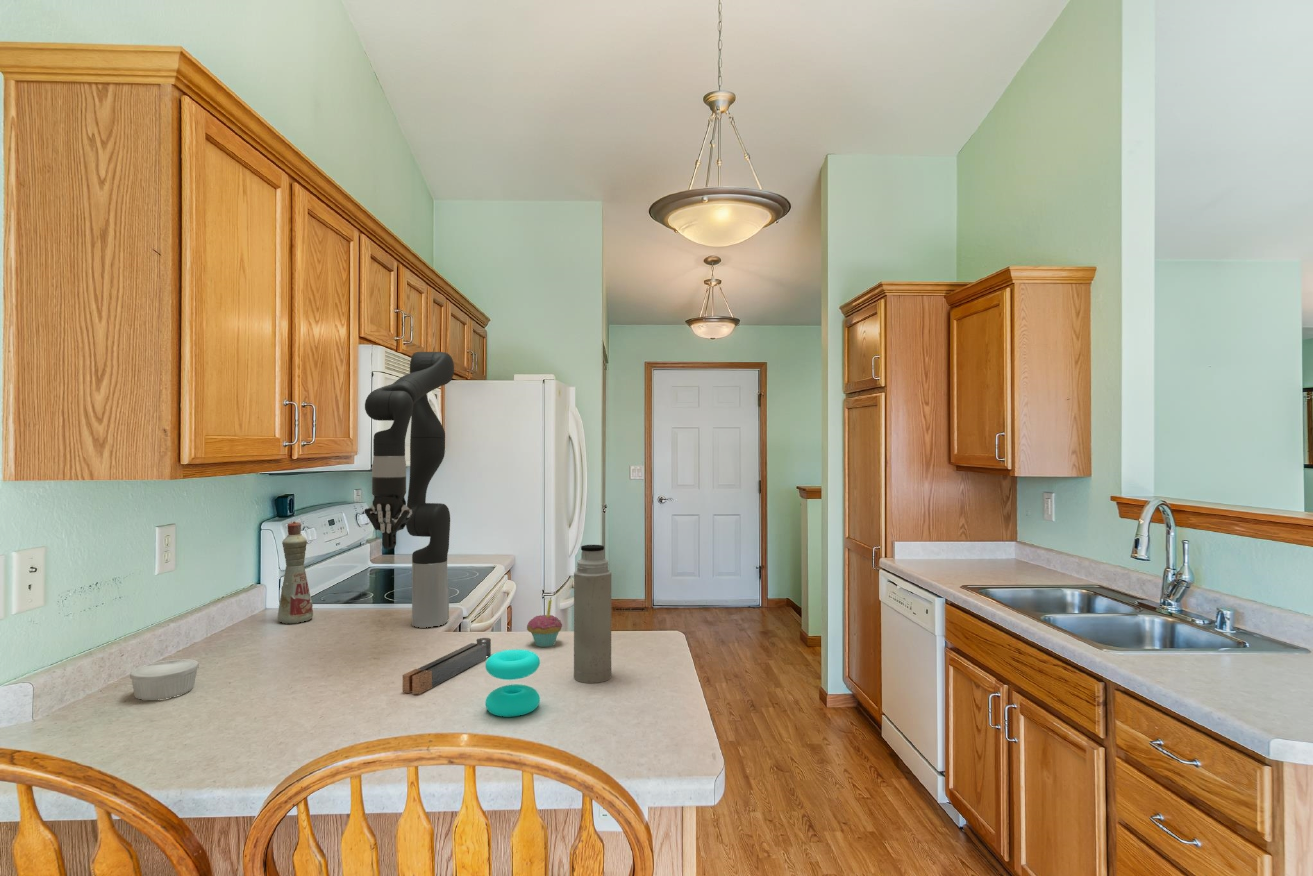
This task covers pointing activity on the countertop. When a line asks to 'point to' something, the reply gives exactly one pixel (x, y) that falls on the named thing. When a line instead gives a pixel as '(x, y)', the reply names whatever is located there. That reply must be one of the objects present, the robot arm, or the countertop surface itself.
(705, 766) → the countertop surface
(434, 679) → the base
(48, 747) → the countertop surface
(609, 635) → the thermos bottle
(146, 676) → the ramekin
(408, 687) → the tongs arm
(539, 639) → the cupcake
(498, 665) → the donuts
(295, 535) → the bottle
